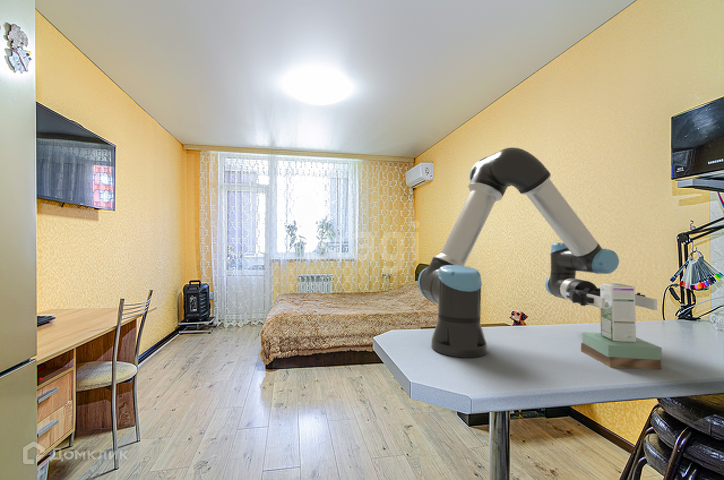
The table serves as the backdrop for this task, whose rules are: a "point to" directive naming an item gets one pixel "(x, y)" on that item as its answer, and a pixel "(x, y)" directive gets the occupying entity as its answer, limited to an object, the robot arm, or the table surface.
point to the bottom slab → (621, 360)
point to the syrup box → (618, 312)
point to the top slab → (622, 347)
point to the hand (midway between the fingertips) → (629, 303)
